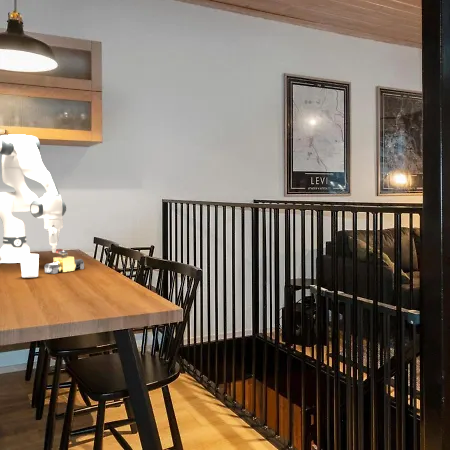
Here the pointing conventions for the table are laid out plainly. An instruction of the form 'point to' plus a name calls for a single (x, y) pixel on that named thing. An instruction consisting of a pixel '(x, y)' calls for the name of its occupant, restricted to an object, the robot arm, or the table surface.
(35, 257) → the white cup
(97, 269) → the table surface
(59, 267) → the valve
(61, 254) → the lever
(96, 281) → the table surface
